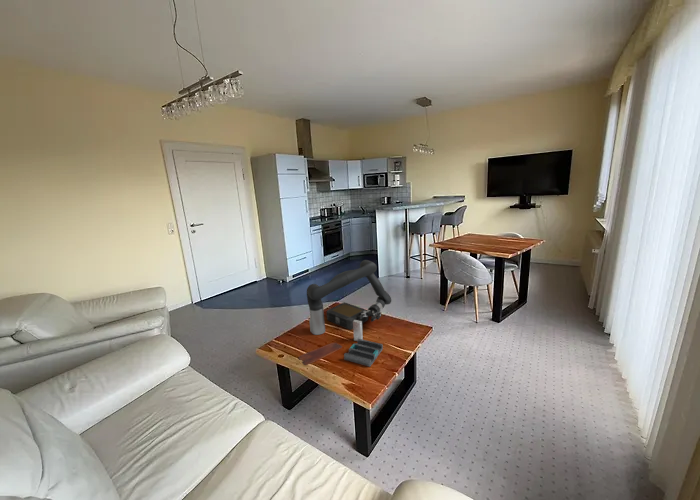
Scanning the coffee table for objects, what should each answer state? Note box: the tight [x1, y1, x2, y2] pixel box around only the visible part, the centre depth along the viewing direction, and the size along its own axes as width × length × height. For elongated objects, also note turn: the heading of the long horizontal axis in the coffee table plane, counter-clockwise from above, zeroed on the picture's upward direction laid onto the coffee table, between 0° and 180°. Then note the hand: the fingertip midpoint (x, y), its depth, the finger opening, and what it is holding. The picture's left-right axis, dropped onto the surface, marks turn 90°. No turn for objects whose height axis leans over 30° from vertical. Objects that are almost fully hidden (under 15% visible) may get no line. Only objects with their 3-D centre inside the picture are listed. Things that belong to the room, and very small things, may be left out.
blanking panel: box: [352, 320, 364, 342], centre depth 179 cm, size 5×2×13 cm, turn 61°
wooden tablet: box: [298, 342, 343, 366], centre depth 169 cm, size 27×10×2 cm, turn 127°
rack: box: [343, 338, 384, 368], centre depth 165 cm, size 16×18×4 cm
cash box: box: [326, 302, 369, 331], centre depth 207 cm, size 25×20×8 cm
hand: (365, 319), depth 188 cm, fingers open, 8 cm apart
